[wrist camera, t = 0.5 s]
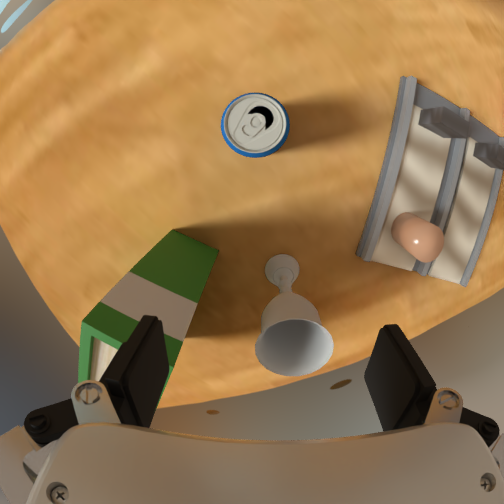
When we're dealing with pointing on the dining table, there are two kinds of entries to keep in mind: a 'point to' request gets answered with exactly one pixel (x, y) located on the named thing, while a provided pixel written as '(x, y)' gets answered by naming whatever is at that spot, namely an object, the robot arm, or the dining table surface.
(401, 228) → the light brown rounded piece
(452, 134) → the strip
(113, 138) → the dining table surface
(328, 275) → the dining table surface
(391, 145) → the track board
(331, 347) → the chalice
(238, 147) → the beverage can
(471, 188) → the strip
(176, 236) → the hardback book
